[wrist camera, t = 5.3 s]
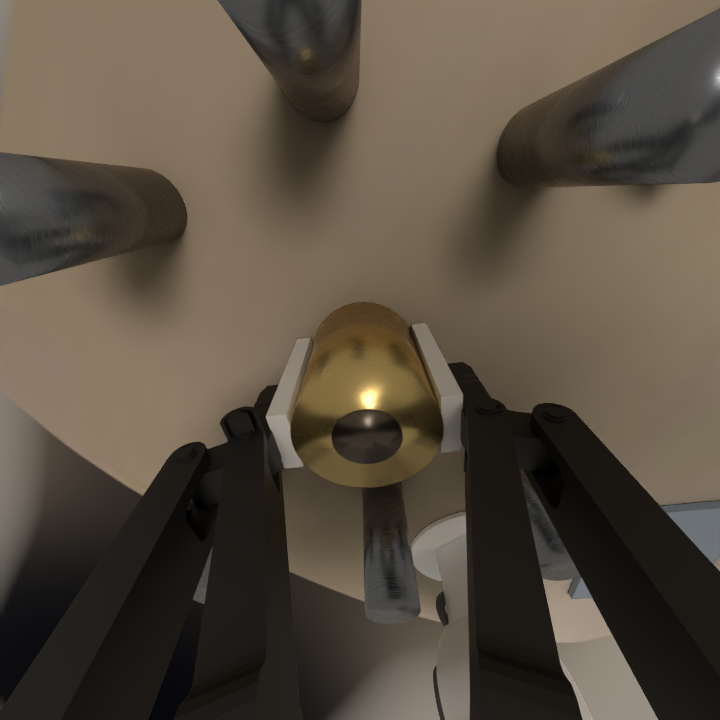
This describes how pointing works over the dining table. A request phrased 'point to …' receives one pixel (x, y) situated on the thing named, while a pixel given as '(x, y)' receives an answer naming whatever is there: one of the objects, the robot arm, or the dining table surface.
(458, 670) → the panda figurine
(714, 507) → the slate board
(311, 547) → the dining table surface
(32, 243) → the spacer posts
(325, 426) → the gold metal cylinder
